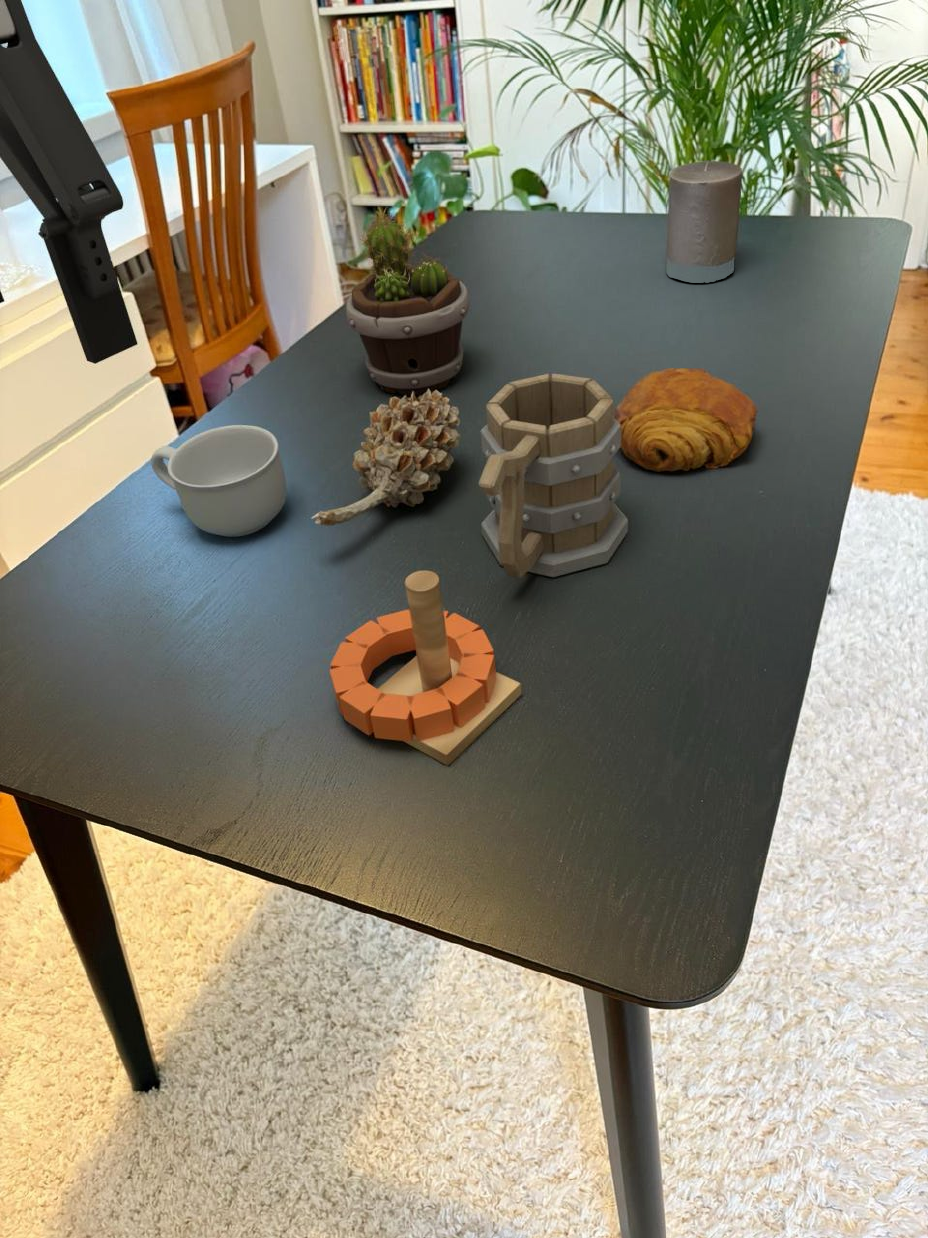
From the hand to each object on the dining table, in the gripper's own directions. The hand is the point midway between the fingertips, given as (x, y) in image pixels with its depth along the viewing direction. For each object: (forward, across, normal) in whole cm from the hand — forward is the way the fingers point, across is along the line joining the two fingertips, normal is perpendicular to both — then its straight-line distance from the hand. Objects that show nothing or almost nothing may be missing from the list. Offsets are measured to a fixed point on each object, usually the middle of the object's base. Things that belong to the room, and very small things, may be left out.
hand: (43, 329), depth 55 cm
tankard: (+33, -9, -33) cm, 47 cm away
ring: (+31, -12, -13) cm, 36 cm away
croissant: (+33, -10, -58) cm, 67 cm away
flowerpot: (+33, +26, -56) cm, 70 cm away
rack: (+33, -14, -13) cm, 38 cm away
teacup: (+33, +22, -22) cm, 45 cm away
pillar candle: (+33, +12, -102) cm, 108 cm away
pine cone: (+33, +8, -32) cm, 47 cm away
